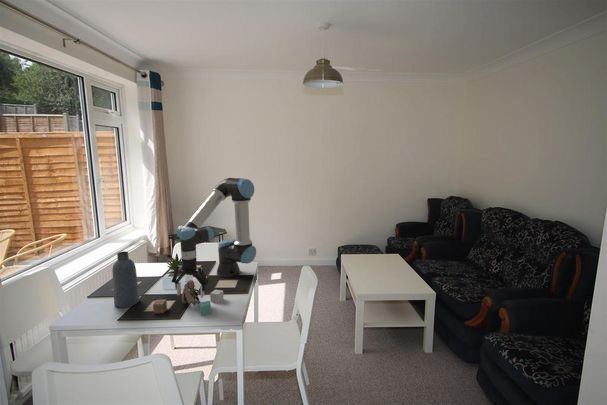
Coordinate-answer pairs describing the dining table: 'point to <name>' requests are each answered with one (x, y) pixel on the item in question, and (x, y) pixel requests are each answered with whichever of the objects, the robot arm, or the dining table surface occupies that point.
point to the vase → (125, 281)
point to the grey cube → (216, 296)
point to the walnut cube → (159, 306)
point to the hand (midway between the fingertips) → (190, 295)
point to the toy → (190, 293)
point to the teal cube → (205, 308)
